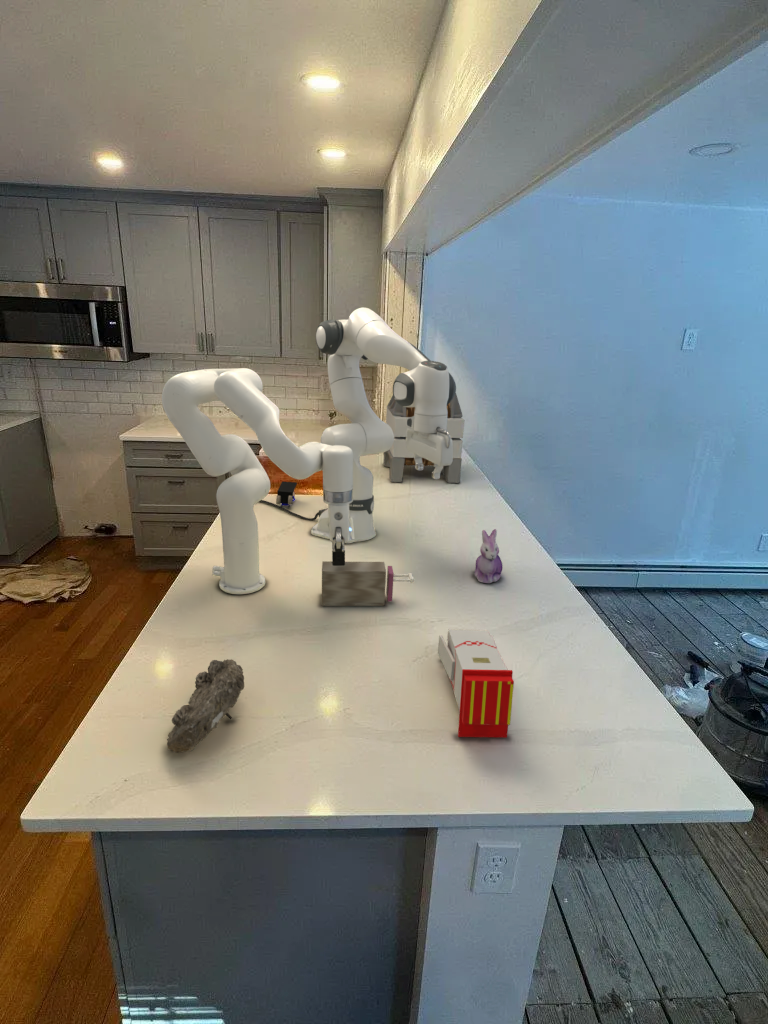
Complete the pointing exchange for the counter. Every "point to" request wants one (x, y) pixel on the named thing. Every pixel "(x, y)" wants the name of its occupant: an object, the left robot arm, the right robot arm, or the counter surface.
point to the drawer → (390, 581)
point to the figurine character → (286, 493)
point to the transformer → (402, 456)
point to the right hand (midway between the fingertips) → (427, 474)
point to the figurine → (488, 559)
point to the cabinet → (353, 584)
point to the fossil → (206, 705)
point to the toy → (478, 682)
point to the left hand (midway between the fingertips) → (338, 557)
